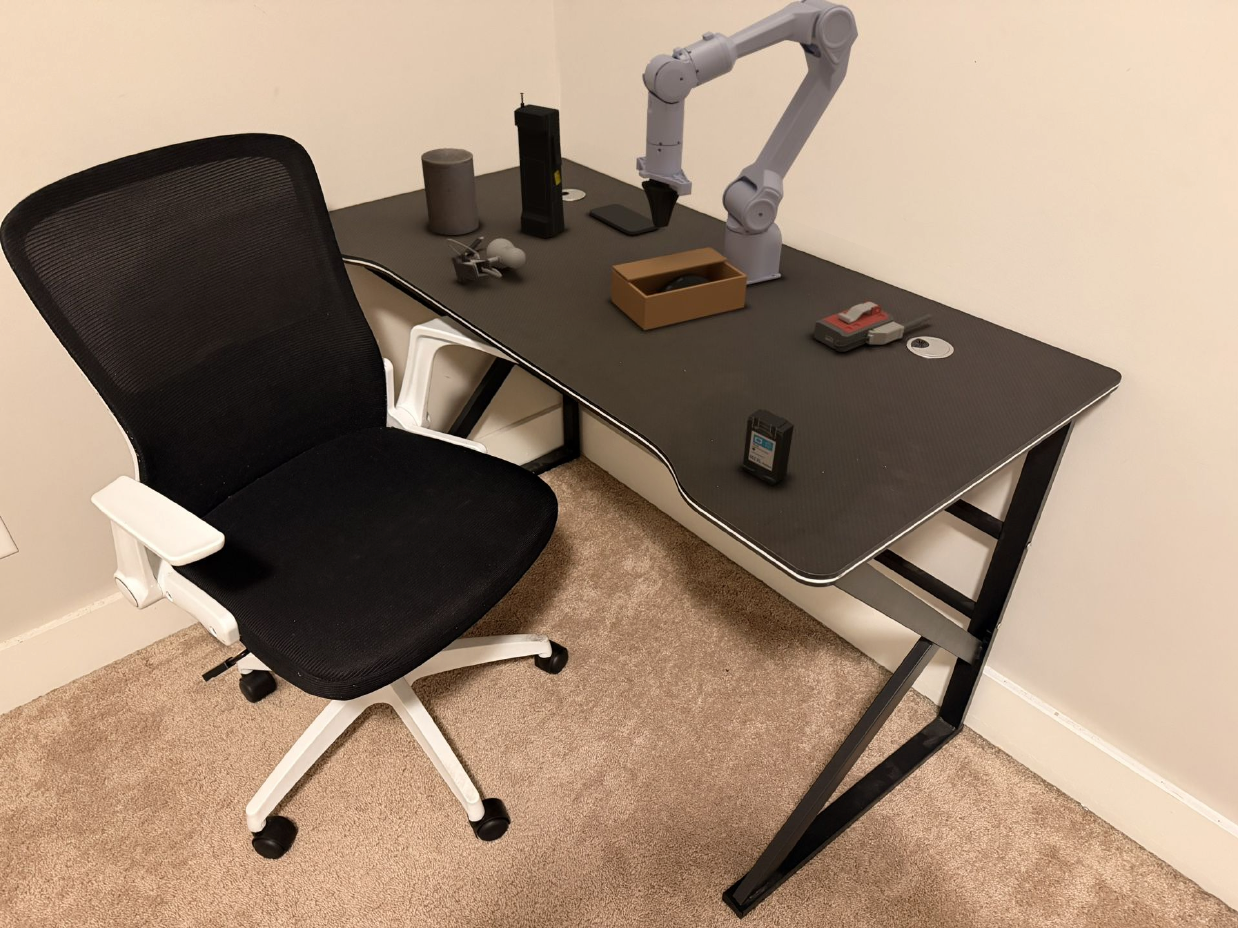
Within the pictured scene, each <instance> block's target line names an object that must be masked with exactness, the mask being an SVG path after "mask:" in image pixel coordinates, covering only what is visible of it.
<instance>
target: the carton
mask: <svg viewBox="0 0 1238 928" xmlns="http://www.w3.org/2000/svg"><path fill="white" fill-rule="evenodd" d="M689 273H691V274H696V275H699V276H701V277H703V278H705V279H707V280H709V281H710V283H705V284H701V285H696V286H692V287H687V288H682V289H678V290H673V291H668V292H664V293H659V294H656V293H657V291H658V290H659V289H661V288H662V287H663V286H664V285H665V284H667V283H668V282H670V281H671V280H673V279H674V278H676V277H679V276H681V275H684V274H689ZM746 284H747V275H745V274H744V273H742V272H741V271H739V270H738V269H736V268H735V267H733V266H732V265H730V264H729V263H727V262H726V261H724V262H719V263H714V264H709V265H704V266H700V267H695V268H690V269H685V270H680V271H675V272H670V273H665V274H661V275H656V276H651V277H646V278H641V279H636V280H631V281H627V280H626V279H625V278H624V277H623V276H621V275H620V274H619V273H618V272H617V271H616V270H614V269H611V302H612V303H613V304H614V305H615V306H616V307H617V308H619V309H620V310H621V311H622V312H623V313H624V314H625V315H627V317H629V318H630V319H631V320H632V321H633V322H635V324H636V325H638V326H639V327H640V328H641V329H642V330H644V331H647V330H651V329H652V330H653V329H656V328H661V327H665V326H669V325H673V324H678V323H682V322H686V321H691V320H694V319H695V320H696V319H699V318H703V317H708V316H712V315H716V314H721V313H725V312H730V311H734V310H737V309H738V310H739V309H742V308H745V302H746V291H747V285H746Z"/></svg>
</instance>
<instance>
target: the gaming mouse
mask: <svg viewBox="0 0 1238 928" xmlns="http://www.w3.org/2000/svg"><path fill="white" fill-rule="evenodd" d="M705 283H710V281H709V280H707V279H705V278H703V277H701V276H699V275H696V274H691V273H689V274H684V275H681V276H679V277H676V278H674V279H673V280H671V281H670V282H668V283H667V284H665V285H664V286H663V287H662V288H661V289H659V290H658V291H657V293H656V294H659V293H664V292H668V291H673V290H678V289H682V288H687V287H692V286H696V285H701V284H705Z"/></svg>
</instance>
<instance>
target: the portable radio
mask: <svg viewBox="0 0 1238 928" xmlns="http://www.w3.org/2000/svg"><path fill="white" fill-rule="evenodd" d="M519 94H520V99H521V102H520V107H517V108H516V109H514V111H513V117H514V126H515V127H516V128H517V144H518V160H519V161H518V162H519V174H520V175H519V178H520V197H521V214H520V229H521V232H522V233H524V234H529V235H531V236H535V237H540V238H543V239H549V238H551V237H554V236H556V235H558V234H560V233H561V232H563V231H565V229H566V228H565V227H566V225H565V214H564V196H563V194H564V193H563V174H562V166H563V160H562V158H563V157H562V147H561V124H560V122H561V121H560V119H561V118H560V110H559V109H558V108H553V107H547V106H542V105H537V104H531V103H529V104H525V102H524V94H525V93H524V92H519Z"/></svg>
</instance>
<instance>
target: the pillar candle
mask: <svg viewBox="0 0 1238 928" xmlns="http://www.w3.org/2000/svg"><path fill="white" fill-rule="evenodd" d="M420 160H421V168H422V176H423V186H424V192H425V199H426V200H425V201H426V209H427V217H428V223H429V226H428V228H429V230H430V231H431V232H433V233H435V234H438V235H442V236H457V235H458V236H460V235H464V234H465V235H466V234H469V233H472V232H474V231H476V230H478V228H479V210H478V200H477V190H476V189H477V188H476V177H475V167H474V154H473V153H472V152H471V151H469V150H467V149H464V148H454V147H449V148H448V147H443V148H435V149H430V150H428V151H425V152H423V153H422V154H421V157H420Z"/></svg>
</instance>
